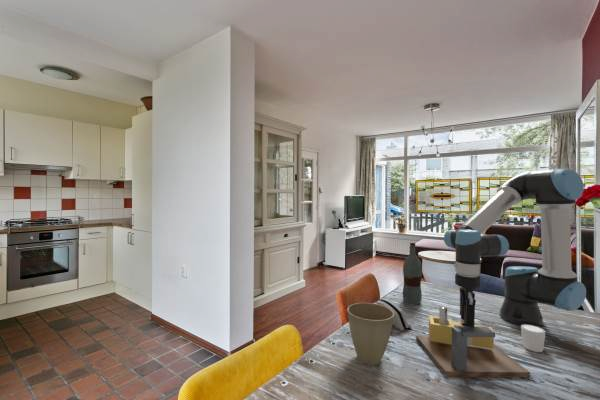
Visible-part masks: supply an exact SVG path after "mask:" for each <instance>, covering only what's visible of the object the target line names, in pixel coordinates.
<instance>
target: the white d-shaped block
mask: <svg viewBox="0 0 600 400" xmlns="http://www.w3.org/2000/svg"><path fill="white" fill-rule="evenodd" d="M375 304H378V305H382V306H385V307H387V308H389V309H391V310H392V311H393V313H394V318H393V324H392V326H394V325H395V327H396V328H397V329H399V330H400V332H401V331H405V329H408V328H409V329H411V330H412V325H411V324H410V323H409V322H408V320H407V318H406V316H405V314H404V310H403V309H402V308H400V307H399V306H398V305H397V304H396V303H395V302H393V301H391V300H390V299H386V298H381V299H380V300H377V301H376V302H375Z"/></svg>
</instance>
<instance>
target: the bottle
mask: <svg viewBox="0 0 600 400" xmlns="http://www.w3.org/2000/svg"><path fill="white" fill-rule="evenodd" d="M402 264H403V266H402V274H403V288H402V299H403V302H404V303H405V304H409V305H413V306H415V305H416V306H418V305H420V304H421V302H422V297H423V296H422V295H423V294H422V286H421V284H422V275H423V266H422V262H421V260H420V258H419V257H418V256H417V254H416V243H415V242H410V243H409V254H408V255H407V256H406V258H405V260H404V262H403V263H402Z"/></svg>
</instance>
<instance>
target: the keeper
mask: <svg viewBox="0 0 600 400" xmlns="http://www.w3.org/2000/svg"><path fill="white" fill-rule="evenodd" d="M481 326H482V325H480V326H456V327H452V355H451V365H452V367H453V368H454V369H455V370H456V371H467V337H494V338H496V332H495V331H494V330H493V331H492V330H491V329H489V328H488V327H489V326H487V327H481Z"/></svg>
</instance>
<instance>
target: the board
mask: <svg viewBox="0 0 600 400" xmlns="http://www.w3.org/2000/svg"><path fill="white" fill-rule="evenodd" d="M415 339H416V342H417V343H418V344H419V345H420V346H421V348H422V349H423V350H424V351H425V353H426V354H427V355H428V356H429V357H430V359H431V360H432V361H433V363H434V364H435V365H436V367H438V368H439V370H440V371H441V372H442V374H443V375H444V376H445V377H455V378H456V377H458V378H459V377H464V378H466V377H469V378H470V377H472V378H473V377H477V378H479V377H480V378H481V377H482V378H483V377H484V378H486V377H487V378H530V377H531V372H530V371H529V370H528V369H526V368H525V367H524V366H522V365H521V364H520V363H519V362H517V361H516V360H514V359H513V358H512V357H511V356H509V355H508V354H507V353H506V352H504V351H503V350H501V349H500V348H499V347H498V346H496V345H495V344H494V345H493V349H490V348H485V347H479V346H473V345H467V371H456V370H455V369H454V368H453V367H452V365H451V355H452V345H451V344H441V343H439V342H434V341H430V337H429V335H416V337H415Z"/></svg>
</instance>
